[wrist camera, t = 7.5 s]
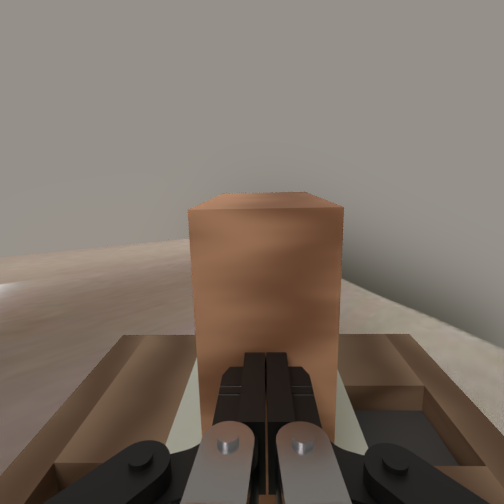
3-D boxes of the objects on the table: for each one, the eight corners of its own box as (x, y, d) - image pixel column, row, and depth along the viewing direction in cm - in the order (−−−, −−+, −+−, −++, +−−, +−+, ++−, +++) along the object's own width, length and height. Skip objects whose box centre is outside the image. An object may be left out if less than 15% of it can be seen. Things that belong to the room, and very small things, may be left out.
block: (206, 508, 14) (187, 209, 11) (230, 369, 23) (223, 193, 21) (331, 510, 13) (343, 207, 11) (302, 369, 23) (305, 192, 20)
